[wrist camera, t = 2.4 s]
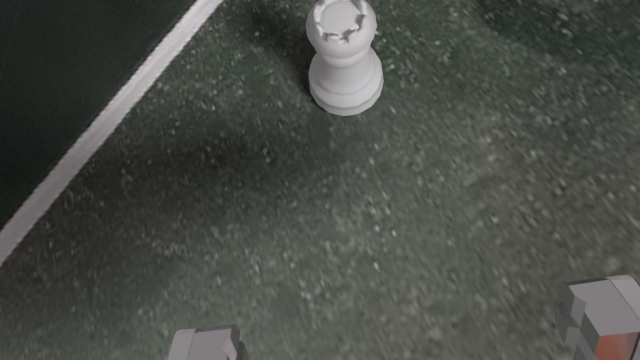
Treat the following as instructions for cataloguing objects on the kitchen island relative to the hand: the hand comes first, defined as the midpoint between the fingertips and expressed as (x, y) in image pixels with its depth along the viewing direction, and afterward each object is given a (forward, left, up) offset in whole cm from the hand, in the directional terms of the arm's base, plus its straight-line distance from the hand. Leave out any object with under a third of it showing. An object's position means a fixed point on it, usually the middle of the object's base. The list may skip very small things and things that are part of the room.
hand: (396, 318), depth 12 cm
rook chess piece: (+6, +11, -15) cm, 19 cm away
